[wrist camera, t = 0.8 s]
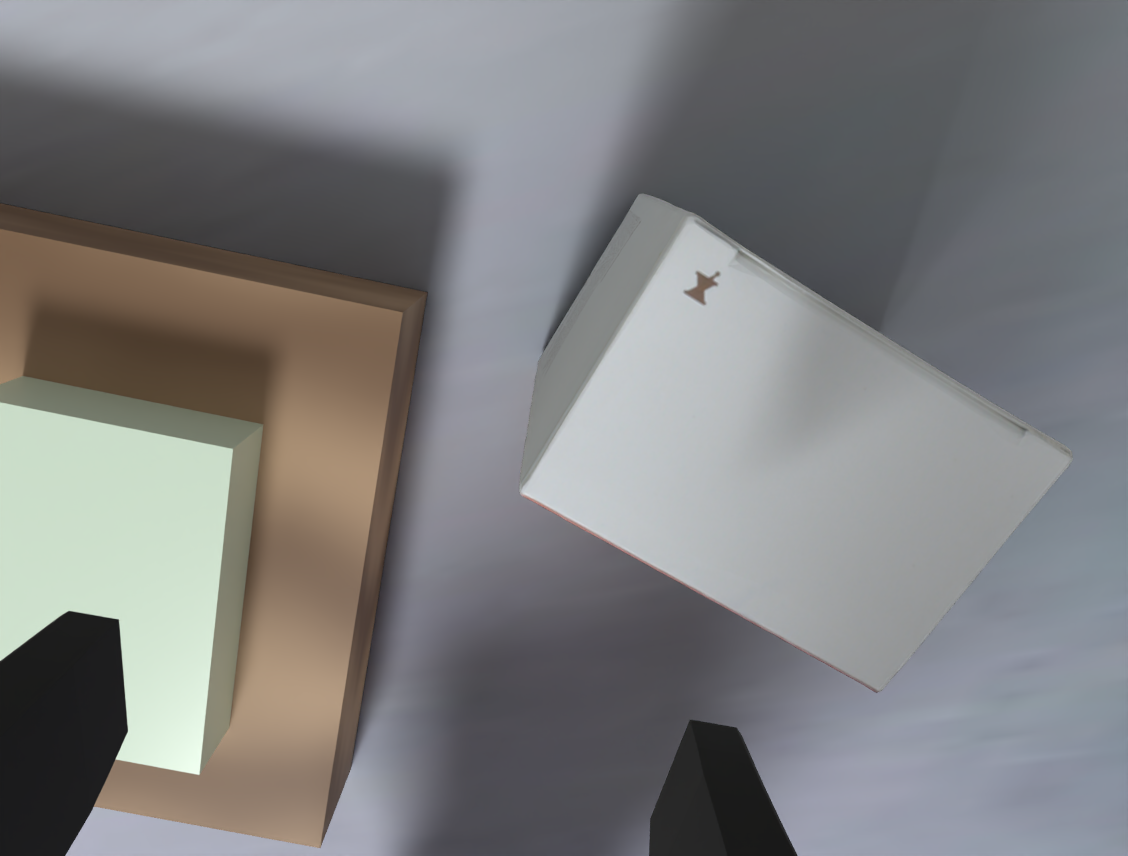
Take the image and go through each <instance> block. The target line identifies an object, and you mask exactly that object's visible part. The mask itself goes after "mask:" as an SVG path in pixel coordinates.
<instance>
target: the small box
mask: <svg viewBox="0 0 1128 856" xmlns="http://www.w3.org/2000/svg"><path fill="white" fill-rule="evenodd" d="M1072 460H1073V457H1072V451H1071V450H1069V449H1068V448H1067V447H1066V446H1065V445H1063V444H1061V443H1060V442H1058V441H1056V440H1055V439H1053V438H1051V437H1049V436H1048V435H1046V434H1044V433H1042V432H1041V431H1039V430H1037V429H1035V428H1034V427H1032V426H1030V425H1029V424H1027V423H1025V422H1024V421H1022V420H1020V419H1019V418H1017V417H1015V416H1014V415H1012V414H1010V413H1009V412H1007V411H1005V410H1004V409H1002V408H1000V407H999V406H997V405H995V404H993V403H992V402H990V401H988V400H987V399H985V398H984V397H982V396H980V395H979V394H977V393H975V392H974V391H972V390H971V389H969V388H967V387H966V386H964V385H962V384H961V383H959V382H958V381H956V380H954V379H953V378H951V377H949V376H948V375H946V374H945V373H943V372H941V371H940V370H938V369H937V368H935V367H933V366H932V365H930V364H929V363H927V362H925V361H924V360H922V359H921V358H919V357H917V356H916V355H914V354H913V353H911V352H909V351H908V350H906V349H905V348H903V347H901V346H900V345H898V344H897V343H895V342H893V341H892V340H890V339H889V338H887V337H885V336H884V335H882V334H881V333H879V332H878V331H876V330H874V329H873V328H871V327H870V326H868V325H866V324H865V323H863V322H862V321H860V320H858V319H857V318H855V317H854V316H852V315H850V314H849V313H847V312H846V311H844V310H842V309H841V308H839V307H838V306H836V305H834V304H833V303H831V302H830V301H828V300H826V299H825V298H823V297H822V296H820V295H819V294H817V293H815V292H814V291H812V290H811V289H809V288H808V287H806V286H804V285H803V284H801V283H800V282H798V281H797V280H795V279H793V278H792V277H790V276H789V275H787V274H786V273H784V272H782V271H781V270H779V269H778V268H776V267H775V266H773V265H771V264H770V263H768V262H767V261H765V260H764V259H762V258H760V257H759V256H757V255H756V254H754V253H753V252H751V251H749V250H748V249H746V248H745V247H743V246H742V245H740V244H738V243H737V242H735V241H734V240H733V239H731V238H730V237H728V236H727V235H725V234H724V233H722V232H721V231H719V230H718V229H717V228H715V227H714V226H712V225H711V224H709V223H708V222H707V221H706V220H704V219H703V218H701V217H700V216H698V215H696V214H694V213H692V212H688V211H686V210H684V209H681V208H679V207H676V206H674V205H672V204H671V203H669V202H666V201H664V200H661V199H658V198H656V197H654V196H651V195H647V194H643V193H641V194H639V195H638V196H637V198H636V199H635V201H634V203H633V205H632V206H631V208H630V210H629V211H628V213H627V215H626V216H625V218H624V220H623V221H622V223H621V225H620V226H619V228H618V230H617V231H616V233H615V234H614V236H613V238H612V239H611V241H610V243H609V244H608V246H607V248H606V249H605V251H604V253H603V254H602V256H601V257H600V259H599V261H598V262H597V264H596V266H595V267H594V269H593V271H592V272H591V274H590V276H589V277H588V279H587V281H586V282H585V284H584V286H583V288H582V289H581V291H580V293H579V294H578V296H577V298H576V299H575V301H574V302H573V304H572V306H571V307H570V309H569V311H568V312H567V314H566V316H565V317H564V319H563V320H562V322H561V324H560V325H559V327H558V329H557V330H556V332H555V334H554V335H553V337H552V339H551V340H550V342H549V344H548V345H547V347H546V349H545V350H544V352H543V354H542V355H541V357H540V359H539V361H538V366H537V373H536V377H535V384H534V391H533V396H532V403H531V409H530V416H529V423H528V429H527V436H526V440H525V446H524V454H523V460H522V467H521V474H520V484H519V491H520V494H521V496H523V497H525V498H527V499H529V500H531V501H533V502H535V503H537V504H538V505H540V506H542V507H544V508H546V509H547V510H549V511H551V512H553V513H555V514H556V515H558V516H560V517H562V518H563V519H565V520H567V521H569V522H570V523H572V524H574V525H576V526H577V527H579V528H581V529H583V530H585V531H587V532H589V533H590V534H592V535H594V536H596V537H598V538H600V539H602V540H603V541H605V542H607V543H609V544H611V545H612V546H614V547H616V548H618V549H620V550H621V551H623V552H625V553H627V554H628V555H630V556H632V557H634V558H636V559H638V560H639V561H641V562H643V563H645V564H647V565H648V566H650V567H652V568H654V569H655V570H657V571H659V572H661V573H663V574H665V575H666V576H668V577H670V578H672V579H674V580H676V581H678V582H679V583H681V584H683V585H685V586H687V587H688V588H690V589H692V590H694V591H695V592H697V593H699V594H701V595H703V596H704V597H706V598H708V599H710V600H712V601H714V602H715V603H717V604H719V605H721V606H723V607H724V608H726V609H728V610H730V611H731V612H733V613H735V614H737V615H739V616H741V617H742V618H744V619H746V620H748V621H750V622H751V623H753V624H755V625H757V626H758V627H760V628H762V629H764V630H766V631H768V632H770V633H772V634H773V635H775V636H777V637H779V638H780V639H782V640H784V641H786V642H787V643H789V644H791V645H793V646H794V647H796V648H798V649H800V650H802V651H803V652H805V653H807V654H809V655H810V656H812V657H814V658H816V659H818V660H819V661H821V662H823V663H825V664H827V665H828V666H830V667H832V668H834V669H836V670H837V671H839V672H841V673H843V674H845V675H846V676H848V677H850V678H852V679H854V680H856V681H857V682H859V683H861V684H863V685H864V686H866V687H867V688H869V689H871V690H872V691H874V692H876V693H878V692H880V691H882V690H883V689H884V688H885V686H886V685H887V684H888V683H889V681H890V680H891V679H892V678H893V677H894V675H895V674H896V673H897V672H898V671H899V670H900V669H901V668H902V666H903V665H904V664H905V663H906V662H907V661H908V659H909V658H910V657H911V656H912V655H913V653H914V652H915V651H916V650H917V649H918V647H919V646H920V645H921V644H922V643H923V641H924V640H925V639H926V638H927V637H928V635H929V634H930V633H931V632H932V630H933V629H934V628H935V627H936V625H937V624H938V623H939V622H940V620H941V619H942V618H943V617H944V616H945V614H946V613H947V612H948V611H949V610H950V608H951V607H952V606H953V605H954V604H955V602H956V601H957V600H958V599H959V598H960V596H961V595H962V594H963V593H964V591H965V590H966V589H967V588H968V587H969V585H970V584H971V583H972V582H973V580H974V579H975V578H976V577H977V576H978V574H979V573H980V572H981V571H982V569H983V568H984V567H985V566H986V565H987V563H988V562H989V561H990V560H991V558H992V557H993V556H994V555H995V554H996V552H997V551H998V550H999V549H1000V548H1001V546H1002V545H1003V544H1004V543H1005V541H1006V540H1007V539H1008V538H1009V537H1010V535H1011V534H1012V533H1013V532H1014V530H1015V529H1016V528H1017V527H1018V526H1019V524H1020V523H1021V522H1022V521H1023V520H1024V518H1025V517H1026V516H1027V515H1028V514H1029V512H1030V511H1031V510H1032V509H1033V508H1034V506H1035V505H1036V504H1037V503H1038V502H1039V500H1040V499H1041V498H1042V497H1043V496H1044V495H1045V493H1046V492H1047V491H1048V490H1049V489H1050V487H1051V486H1052V485H1053V484H1054V483H1055V481H1056V480H1057V479H1058V478H1059V477H1060V476H1061V474H1062V473H1063V472H1064V471H1065V470H1066V469H1067V467H1068V466H1069V465H1070V463H1071V462H1072Z"/></svg>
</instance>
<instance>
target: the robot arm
mask: <svg viewBox="0 0 1128 856" xmlns="http://www.w3.org/2000/svg"><path fill="white" fill-rule="evenodd" d="M127 733H128V724H127V711H126V699H125V687H124V674H123V662H122V650H121V637H120V625H119V619H113V618H108V617H102V616H96V615H91V614H85V613H79V612H73V611H68V612H66V613H64V614H63V615H61V616H60V617H58V618H57V619H55V620H54V621H53V622H51V623H50V624H49V625H47V626H46V627H45V628H43V629H42V630H41V631H39V632H38V633H37V634H35V635H34V636H33V637H31V638H30V639H29V640H27V641H26V642H25V643H23V644H22V645H21V646H19V647H18V648H17V649H15V650H14V651H13V652H11V653H10V654H9V655H8V656H6V657H5V658H4V659H2V660H1V661H0V856H65V855H66V853H67V852H68V850H69V848H70V847H71V845H72V843H73V842H74V840H75V838H76V837H77V835H78V833H79V832H80V830H81V828H82V826H83V825H84V823H85V821H86V820H87V818H88V816H89V815H90V813H91V811H92V809H93V807H94V805H95V803H96V800H97V798H98V796H99V794H100V792H101V790H102V788H103V786H104V784H105V781H106V779H107V777H108V775H109V773H110V771H111V768H112V766H113V764H114V762H115V760H116V757H117V755H118V753H119V751H120V748H121V746H122V744H123V742H124V739H125V737H126V735H127ZM649 856H797V854H796V852H795V850H794V848H793V846H792V844H791V842H790V840H789V838H788V835H787V833H786V831H785V829H784V827H783V825H782V823H781V821H780V819H779V817H778V815H777V812H776V810H775V808H774V806H773V804H772V802H771V800H770V798H769V795H768V793H767V791H766V789H765V787H764V785H763V782H762V780H761V778H760V776H759V773H758V771H757V769H756V767H755V764H754V762H753V760H752V758H751V755H750V753H749V751H748V749H747V746H746V744H745V742H744V739H743V737H742V735H741V734H740V732H739V731H738V729H737V728H735V727H729V726H724V725H718V724H712V723H706V722H701V721H695V720H690V721H689V724H688V726H687V729H686V731H685V734H684V736H683V739H682V741H681V744H680V746H679V749H678V751H677V754H676V756H675V759H674V761H673V764H672V766H671V769H670V771H669V774H668V776H667V779H666V781H665V784H664V786H663V789H662V791H661V794H660V796H659V799H658V801H657V804H656V806H655V809H654V811H653V814H652V816H651V819H650V847H649Z"/></svg>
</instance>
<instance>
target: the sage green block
mask: <svg viewBox="0 0 1128 856" xmlns="http://www.w3.org/2000/svg"><path fill="white" fill-rule="evenodd" d="M262 432H263V424H259V423H254V422H249V421H244V420H239V419H234V418H229V417H224V416H219V415H214V414H209V413H204V412H199V411H194V410H190V409H185V408H180V407H175V406H170V405H165V404H160V403H155V402H150V401H145V400H140V399H135V398H130V397H125V396H120V395H115V394H110V393H105V392H100V391H95V390H90V389H85V388H80V387H75V386H70V385H65V384H60V383H56V382H51V381H46V380H41V379H36V378H31V377H26V376H21V377H19V378H16V379H13V380H11V381H8V382H5V383H3V384H0V661H1V660H2V659H4V658H5V657H6V656H8V655H9V654H10V653H11V652H13V651H14V650H15V649H17V648H18V647H19V646H21V645H22V644H23V643H25V642H26V641H27V640H29V639H30V638H31V637H33V636H34V635H35V634H37V633H38V632H39V631H41V630H42V629H43V628H45V627H46V626H47V625H49V624H50V623H51V622H53V621H54V620H55V619H57V618H58V617H60V616H61V615H63V614H64V613H66V612H68V611H73V612H79V613H85V614H91V615H96V616H102V617H108V618H113V619H119V625H120V637H121V650H122V662H123V674H124V687H125V699H126V711H127V724H128V733H127V735H126V737H125V739H124V742H123V744H122V746H121V748H120V751H119V753H118V755H117V757H116V760H122V761H127V762H133V763H138V764H143V765H149V766H154V767H159V768H165V769H170V770H175V771H181V772H186V773H192V774H197V775H200V773H201V772H202V770H203V768H204V767H205V765H206V764H207V762H208V760H209V759H210V757H211V756H212V754H213V752H214V751H215V749H216V748H217V746H218V745H219V743H220V741H221V740H222V738H223V737H224V735H225V733H226V732H227V730H228V729H229V725H230V716H231V707H232V698H233V690H234V681H235V672H236V663H237V654H238V645H239V636H240V627H241V619H242V610H243V601H244V592H245V583H246V574H247V565H248V556H249V548H250V539H251V530H252V521H253V512H254V503H255V494H256V485H257V477H258V468H259V459H260V450H261V441H262Z"/></svg>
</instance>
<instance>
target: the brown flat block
mask: <svg viewBox="0 0 1128 856" xmlns="http://www.w3.org/2000/svg"><path fill="white" fill-rule="evenodd" d="M426 299H427V292H424V291H419V290H414V289H409V288H405V287H400V286H395V285H390V284H385V283H381V282H376V281H371V280H366V279H361V278H357V277H352V276H347V275H342V274H337V273H333V272H328V271H323V270H318V269H313V268H309V267H304V266H299V265H294V264H289V263H285V262H280V261H275V260H270V259H265V258H261V257H256V256H251V255H246V254H241V253H237V252H232V251H227V250H222V249H217V248H213V247H208V246H203V245H198V244H193V243H189V242H184V241H179V240H174V239H170V238H165V237H160V236H155V235H150V234H146V233H141V232H136V231H131V230H126V229H122V228H117V227H112V226H107V225H102V224H98V223H93V222H88V221H83V220H78V219H74V218H69V217H64V216H59V215H54V214H50V213H45V212H40V211H35V210H30V209H26V208H21V207H16V206H11V205H6V204H2V203H0V384H3V383H5V382H8V381H11V380H13V379H16V378H19V377H21V376H26V377H31V378H36V379H41V380H46V381H51V382H56V383H60V384H65V385H70V386H75V387H80V388H85V389H90V390H95V391H100V392H105V393H110V394H115V395H120V396H125V397H130V398H135V399H140V400H145V401H150V402H155V403H160V404H165V405H170V406H175V407H180V408H185V409H190V410H194V411H199V412H204V413H209V414H214V415H219V416H224V417H229V418H234V419H239V420H244V421H249V422H254V423H259V424H263V432H262V441H261V450H260V459H259V468H258V477H257V485H256V494H255V503H254V512H253V521H252V530H251V539H250V548H249V556H248V565H247V574H246V583H245V592H244V601H243V610H242V619H241V627H240V636H239V645H238V654H237V663H236V672H235V681H234V690H233V698H232V707H231V716H230V725H229V729H228V730H227V732H226V733H225V735H224V737H223V738H222V740H221V741H220V743H219V745H218V746H217V748H216V749H215V751H214V752H213V754H212V756H211V757H210V759H209V760H208V762H207V764H206V765H205V767H204V768H203V770H202V772H201V773H200V775H197V774H192V773H186V772H181V771H175V770H170V769H165V768H159V767H154V766H149V765H143V764H138V763H133V762H127V761H122V760H115V762H114V764H113V766H112V768H111V771H110V773H109V775H108V777H107V779H106V781H105V784H104V786H103V788H102V790H101V792H100V794H99V796H98V798H97V800H96V803H95V805H94V807H100V808H105V809H111V810H116V811H122V812H127V813H132V814H138V815H143V816H149V817H154V818H160V819H165V820H171V821H176V822H181V823H187V824H192V825H198V826H203V827H209V828H214V829H219V830H225V831H230V832H236V833H241V834H247V835H252V836H257V837H263V838H268V839H274V840H279V841H285V842H290V843H295V844H301V845H306V846H312V847H317V848H320V847H321V845H322V842H323V839H324V837H325V834H326V832H327V829H328V826H329V824H330V821H331V819H332V816H333V814H334V811H335V808H336V806H337V803H338V801H339V798H340V795H341V793H342V790H343V788H344V785H345V782H346V780H347V777H348V775H349V772H350V770H351V764H352V757H353V751H354V745H355V739H356V733H357V726H358V720H359V714H360V708H361V702H362V695H363V689H364V683H365V677H366V671H367V664H368V658H369V652H370V646H371V640H372V633H373V627H374V621H375V615H376V609H377V602H378V596H379V590H380V584H381V578H382V571H383V565H384V559H385V553H386V547H387V540H388V534H389V528H390V522H391V516H392V509H393V503H394V497H395V491H396V485H397V478H398V472H399V466H400V460H401V454H402V447H403V441H404V435H405V429H406V423H407V416H408V410H409V404H410V398H411V392H412V385H413V379H414V373H415V367H416V361H417V354H418V348H419V342H420V336H421V330H422V323H423V317H424V311H425V305H426Z"/></svg>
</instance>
